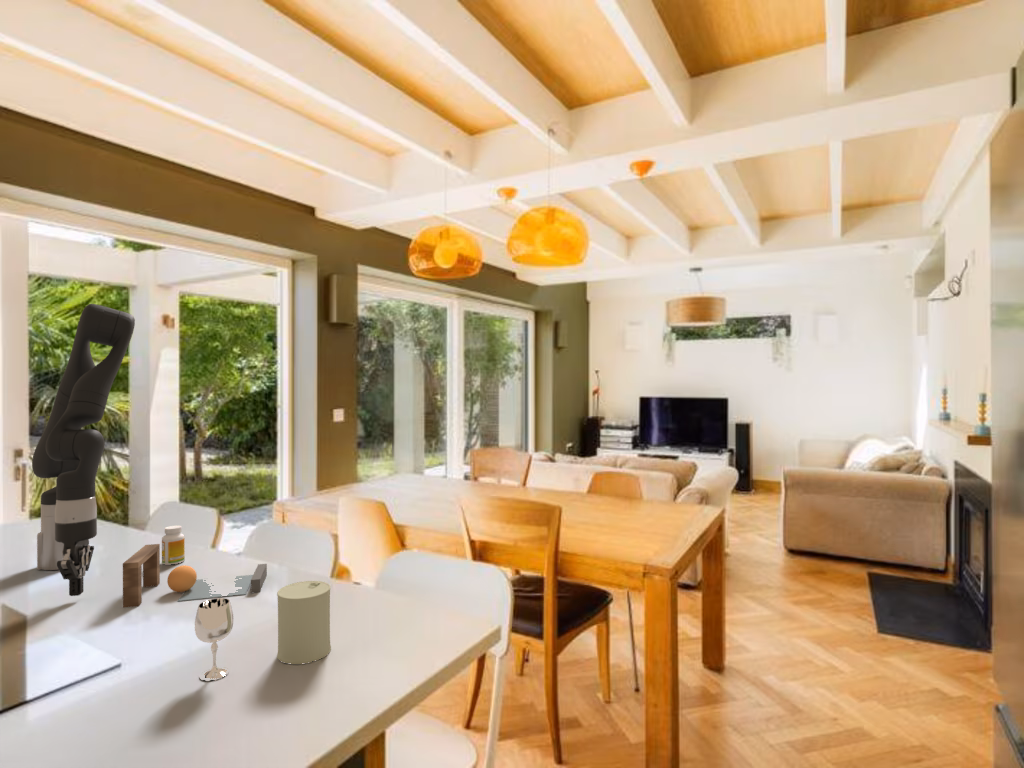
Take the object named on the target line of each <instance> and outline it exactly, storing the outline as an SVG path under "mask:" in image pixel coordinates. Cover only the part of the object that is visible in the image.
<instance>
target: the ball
mask: <svg viewBox="0 0 1024 768" xmlns="http://www.w3.org/2000/svg"><path fill="white" fill-rule="evenodd" d="M196 580H198V576H197V571H196V570H195V569H194V568H193V567H192V566H189V565H183V564H182V565H179V566H177V567H175V568H173V569H172V570H171V571H170V572H169V574H168V576H167V581H166V583H167V586H168V588H169V589H170V590H171V591H173V592H175V593H184V592H185V591H187V590H189V589H190V588H192V587H193V585H194V584H195V582H196Z"/></svg>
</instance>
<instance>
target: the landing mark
mask: <svg viewBox="0 0 1024 768" xmlns="http://www.w3.org/2000/svg"><path fill="white" fill-rule="evenodd" d="M235 576H236V578H235V579H238V580H236V581H234V582H235V583H236V584H235V587H242V589H238V590H236V591H238V592H235V593H229V594H228V595H227V596H228V597H234V596H233V595H239V596H246V595H247V593H248V591H247V590H249V588H250V587H251V579H252V576H253V574H245V575H235ZM239 578H242V579H239ZM204 581H206V580H204ZM211 584H212V583H211ZM208 585H209V584H207V583H206V582H203V578H201V579H196V582H195V584H194V585H193V587H192V588H190V589H189V590H187V591H185V592H182V594H181V596H180V597H179V598H178V600H177V602H187V601H196V600H205V599H204V598H208V599H214V598H213V597H218V598H222V597H221V596H222V595H221V594H211V593H209V592H212V591H209V590H211V589H210V587H211V586H208ZM212 586H214V585H212ZM214 592H216V591H214ZM246 592H247V593H246ZM210 595H212V596H210Z"/></svg>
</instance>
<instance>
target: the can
mask: <svg viewBox="0 0 1024 768" xmlns="http://www.w3.org/2000/svg"><path fill="white" fill-rule="evenodd" d="M276 596H277V640H278V641H277V655H276V659H277V660H278V659H279V660H280V661H282V662H285V663H291V664H301V665H303V664H302V663H307V664H309V663H308V662H311V663H313V662H312V661H315V660H317V661H319V659H320V660H321V658H322V659H324V658H325V657H327V654H330V652H331V650H332V645H331V585H330V584H329V583H328V582H325V581H320V580H304V581H299V582H294V583H290V584H288V585H284V586H283V587H281V588H280V589H279V590H277V594H276ZM279 660H278V661H279ZM280 661H279V662H280ZM282 662H281V663H282ZM315 662H316V661H315Z"/></svg>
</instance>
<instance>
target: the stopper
mask: <svg viewBox="0 0 1024 768" xmlns="http://www.w3.org/2000/svg"><path fill="white" fill-rule="evenodd" d="M267 564H268V563H260V564H257V566H256V568H255V570H254V573H253V574H252V575H253V576H252V579H251V584H250V593H251V594H252V593H253V592H254V593H261V591H262V589H261V588H263V585H264V584H265V580H266V578H267V576H268V575H267V573H268V572H267V569H268V565H267ZM263 583H264V584H263Z"/></svg>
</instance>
